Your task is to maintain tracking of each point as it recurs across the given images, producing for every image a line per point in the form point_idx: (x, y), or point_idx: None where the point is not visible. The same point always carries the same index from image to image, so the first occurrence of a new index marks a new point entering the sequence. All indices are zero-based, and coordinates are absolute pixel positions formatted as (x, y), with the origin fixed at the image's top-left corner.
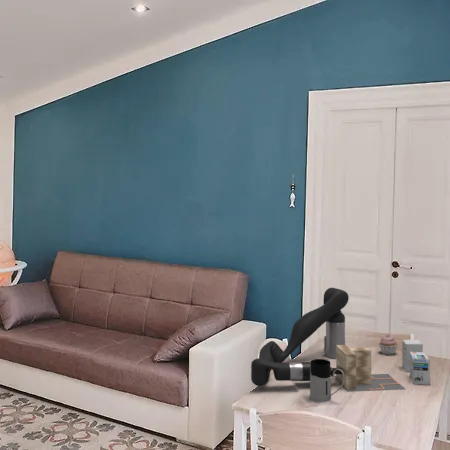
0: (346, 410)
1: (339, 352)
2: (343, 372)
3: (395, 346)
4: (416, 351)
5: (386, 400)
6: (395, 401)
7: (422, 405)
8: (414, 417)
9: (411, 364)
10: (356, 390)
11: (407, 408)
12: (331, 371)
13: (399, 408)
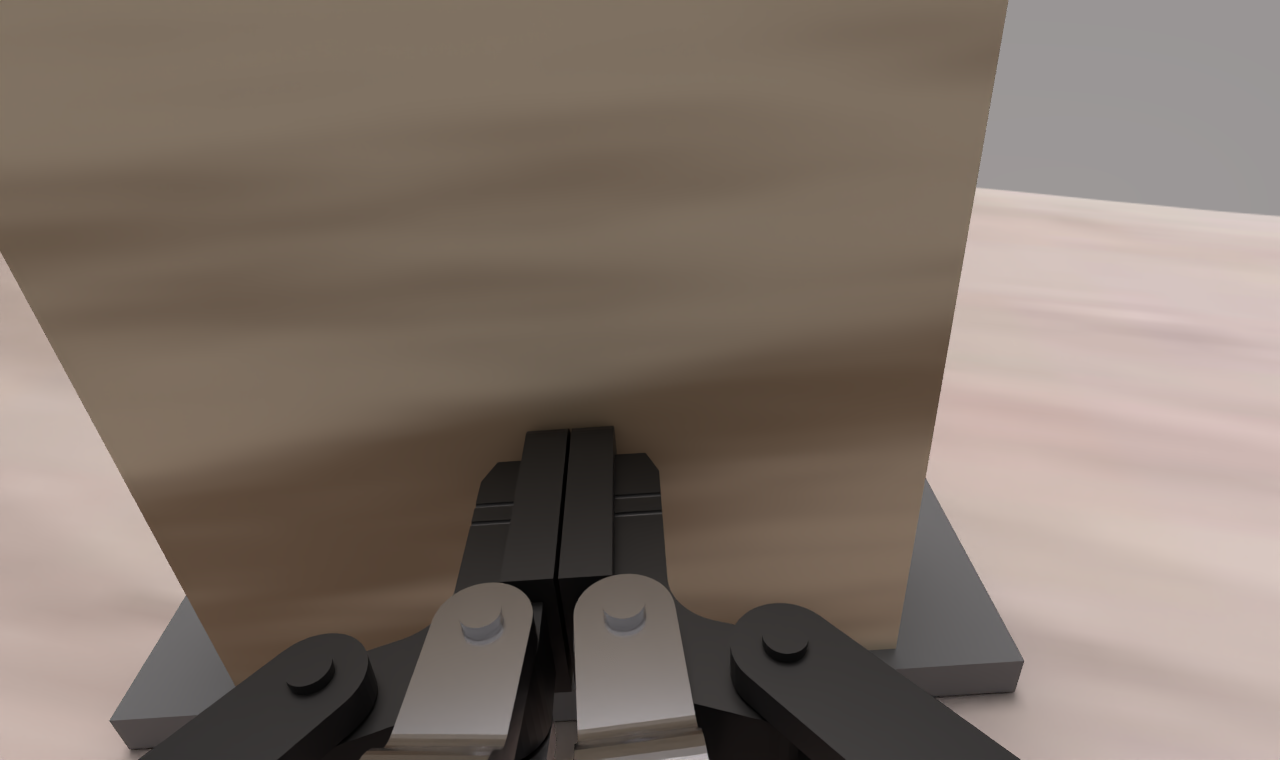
0: None
1: (286, 68)
2: (720, 449)
3: None
4: None
5: (1075, 359)
6: (1070, 317)
7: (1083, 230)
8: None
9: None
10: (917, 525)
11: (1222, 286)
12: (876, 665)
13: (1265, 320)
